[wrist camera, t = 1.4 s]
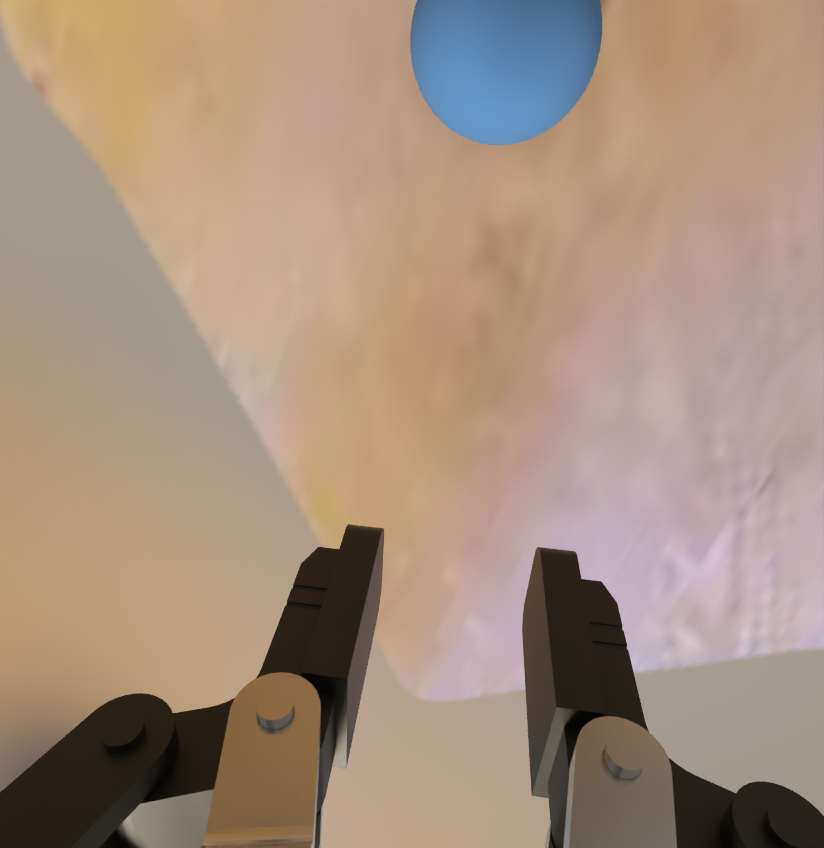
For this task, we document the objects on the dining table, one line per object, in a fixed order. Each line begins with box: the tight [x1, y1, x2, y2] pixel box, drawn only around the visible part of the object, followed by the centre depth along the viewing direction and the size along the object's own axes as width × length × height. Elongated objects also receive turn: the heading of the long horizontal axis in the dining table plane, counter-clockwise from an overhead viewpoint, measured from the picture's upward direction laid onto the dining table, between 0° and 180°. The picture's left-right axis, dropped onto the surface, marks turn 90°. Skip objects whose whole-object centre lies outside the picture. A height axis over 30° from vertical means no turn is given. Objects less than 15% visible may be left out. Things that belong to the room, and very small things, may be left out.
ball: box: [411, 0, 602, 145], centre depth 20 cm, size 6×6×6 cm
